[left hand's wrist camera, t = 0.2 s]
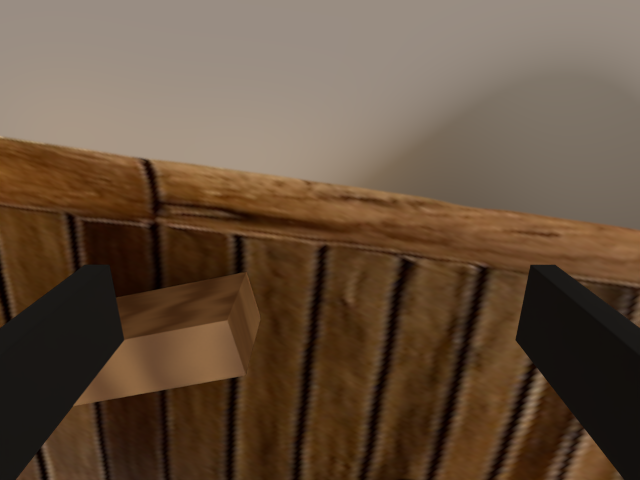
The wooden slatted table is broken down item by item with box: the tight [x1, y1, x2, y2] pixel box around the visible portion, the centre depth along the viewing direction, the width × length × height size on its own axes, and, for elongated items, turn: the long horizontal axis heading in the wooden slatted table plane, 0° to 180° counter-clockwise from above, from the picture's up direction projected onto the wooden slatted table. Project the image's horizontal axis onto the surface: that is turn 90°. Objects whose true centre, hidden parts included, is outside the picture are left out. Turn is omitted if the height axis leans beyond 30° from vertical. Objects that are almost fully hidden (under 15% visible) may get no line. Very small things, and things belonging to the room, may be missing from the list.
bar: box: [73, 272, 261, 406], centre depth 40 cm, size 23×6×10 cm, turn 102°
